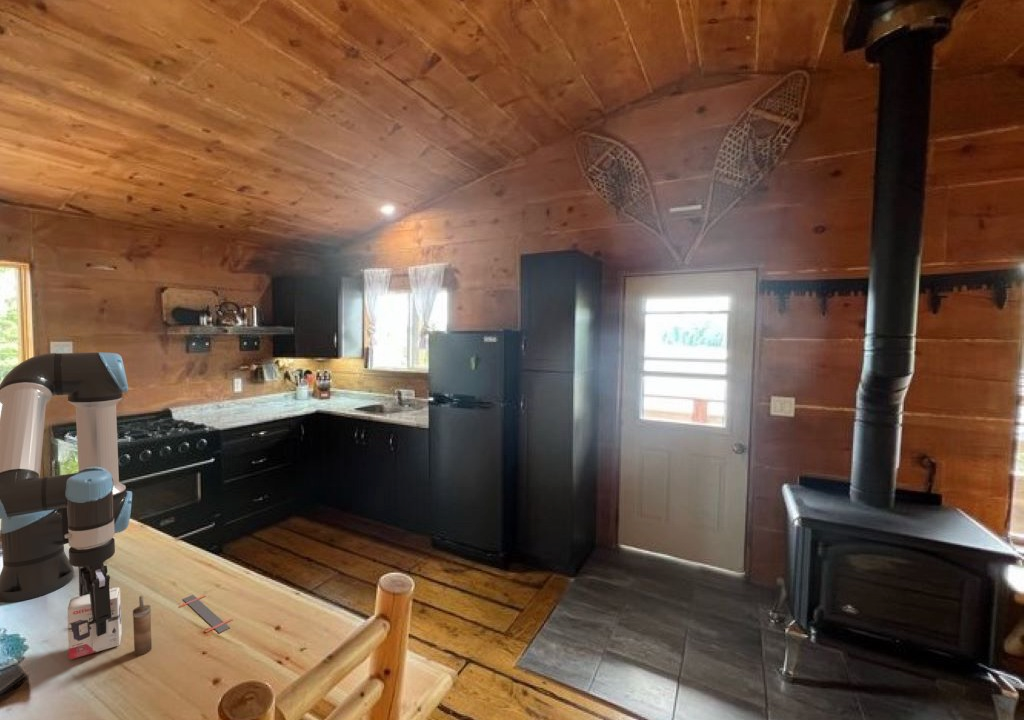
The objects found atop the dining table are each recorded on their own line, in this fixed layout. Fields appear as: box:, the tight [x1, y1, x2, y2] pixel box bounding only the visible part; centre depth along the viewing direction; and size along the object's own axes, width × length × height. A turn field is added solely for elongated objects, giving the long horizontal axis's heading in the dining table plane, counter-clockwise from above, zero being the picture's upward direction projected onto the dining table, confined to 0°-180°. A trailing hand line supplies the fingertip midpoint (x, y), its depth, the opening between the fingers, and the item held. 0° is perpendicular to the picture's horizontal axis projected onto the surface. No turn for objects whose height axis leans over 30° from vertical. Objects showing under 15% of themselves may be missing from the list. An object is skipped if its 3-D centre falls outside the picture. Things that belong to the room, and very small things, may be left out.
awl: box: [132, 595, 153, 657], centre depth 102 cm, size 3×3×13 cm
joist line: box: [178, 594, 234, 634], centre depth 116 cm, size 22×6×1 cm, turn 55°
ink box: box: [67, 587, 123, 661], centre depth 103 cm, size 8×5×12 cm, turn 127°
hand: (96, 639), depth 103 cm, fingers closed on ink box, 6 cm apart
